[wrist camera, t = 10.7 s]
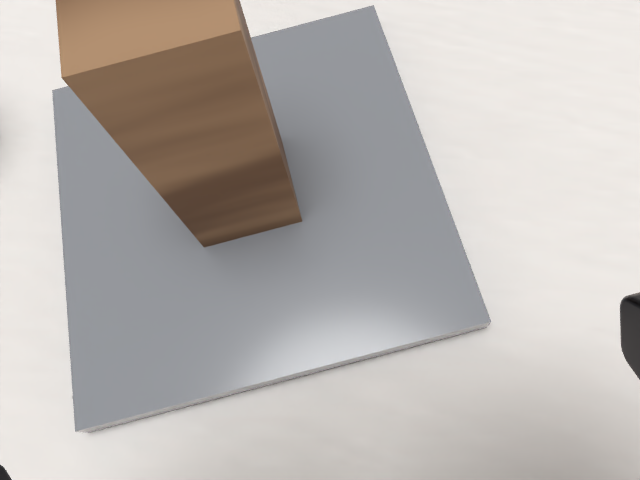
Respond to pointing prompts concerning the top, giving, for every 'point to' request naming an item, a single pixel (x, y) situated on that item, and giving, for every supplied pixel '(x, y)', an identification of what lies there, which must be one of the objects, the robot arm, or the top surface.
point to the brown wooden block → (183, 107)
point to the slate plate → (263, 243)
